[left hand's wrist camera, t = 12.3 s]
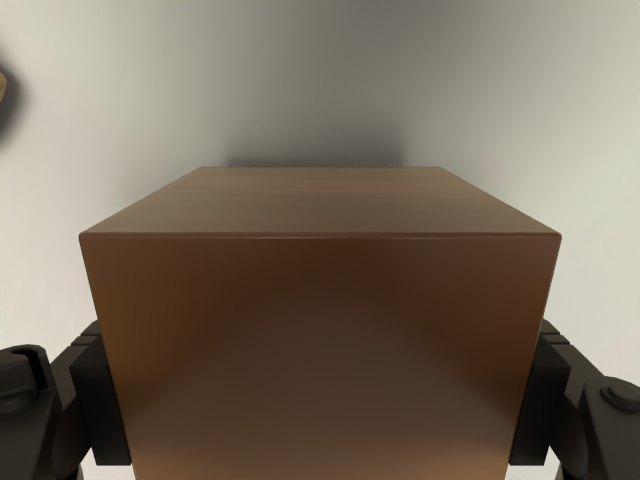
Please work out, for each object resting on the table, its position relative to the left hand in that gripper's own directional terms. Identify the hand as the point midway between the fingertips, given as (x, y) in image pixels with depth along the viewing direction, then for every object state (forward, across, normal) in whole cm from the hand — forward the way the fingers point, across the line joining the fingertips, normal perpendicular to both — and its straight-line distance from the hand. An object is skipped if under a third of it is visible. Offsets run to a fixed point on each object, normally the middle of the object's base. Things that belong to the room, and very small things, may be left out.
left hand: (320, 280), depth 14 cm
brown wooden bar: (+1, 0, -33) cm, 33 cm away
